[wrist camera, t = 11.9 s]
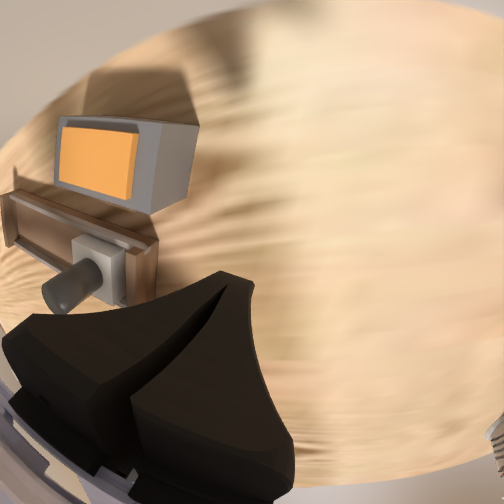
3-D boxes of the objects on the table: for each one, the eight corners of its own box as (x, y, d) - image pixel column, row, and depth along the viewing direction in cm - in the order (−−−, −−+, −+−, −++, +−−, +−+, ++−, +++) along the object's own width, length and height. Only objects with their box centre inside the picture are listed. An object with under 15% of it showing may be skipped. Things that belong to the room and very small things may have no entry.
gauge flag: (131, 197, 16) (125, 199, 15) (64, 178, 17) (58, 180, 16) (139, 133, 14) (133, 133, 13) (68, 126, 15) (62, 127, 14)
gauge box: (186, 197, 20) (149, 214, 16) (92, 173, 22) (52, 184, 17) (199, 126, 18) (162, 123, 13) (99, 115, 19) (57, 116, 15)
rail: (154, 305, 25) (136, 325, 22) (22, 236, 28) (5, 245, 25) (158, 240, 22) (135, 256, 19) (19, 188, 25) (-1, 195, 22)
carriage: (125, 295, 24) (78, 338, 18) (88, 277, 24) (41, 311, 18) (125, 248, 22) (67, 286, 15) (85, 232, 22) (30, 262, 16)
